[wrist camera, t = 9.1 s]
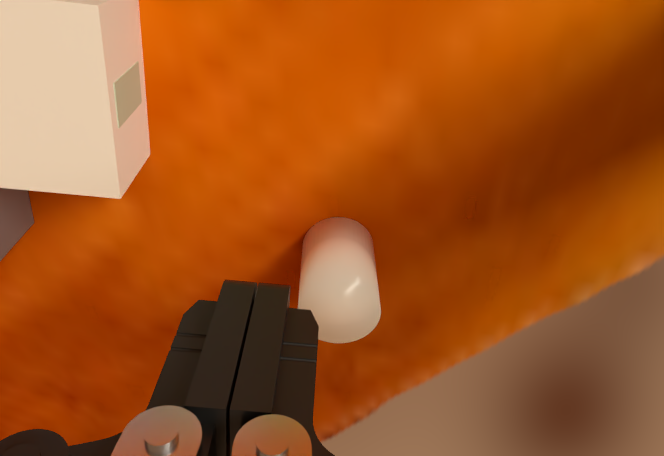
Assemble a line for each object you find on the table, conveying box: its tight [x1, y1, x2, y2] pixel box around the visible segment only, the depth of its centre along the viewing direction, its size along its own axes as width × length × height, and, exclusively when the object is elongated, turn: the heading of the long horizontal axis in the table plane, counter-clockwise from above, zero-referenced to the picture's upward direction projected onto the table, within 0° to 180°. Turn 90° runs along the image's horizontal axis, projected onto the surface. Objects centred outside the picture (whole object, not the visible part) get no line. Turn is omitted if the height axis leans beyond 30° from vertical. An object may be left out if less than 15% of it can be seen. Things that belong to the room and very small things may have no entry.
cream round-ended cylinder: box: [298, 217, 381, 343], centre depth 35 cm, size 5×5×7 cm
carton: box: [0, 0, 150, 199], centre depth 29 cm, size 8×10×6 cm
